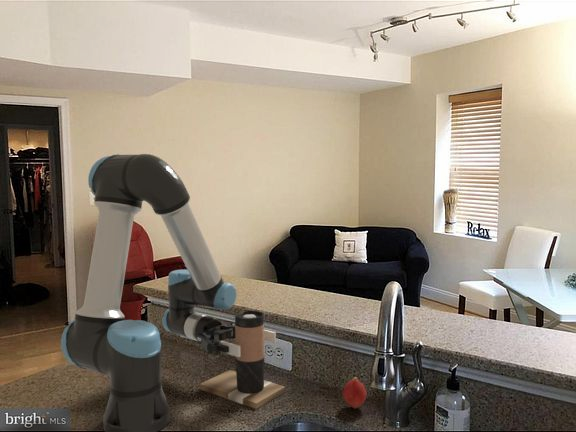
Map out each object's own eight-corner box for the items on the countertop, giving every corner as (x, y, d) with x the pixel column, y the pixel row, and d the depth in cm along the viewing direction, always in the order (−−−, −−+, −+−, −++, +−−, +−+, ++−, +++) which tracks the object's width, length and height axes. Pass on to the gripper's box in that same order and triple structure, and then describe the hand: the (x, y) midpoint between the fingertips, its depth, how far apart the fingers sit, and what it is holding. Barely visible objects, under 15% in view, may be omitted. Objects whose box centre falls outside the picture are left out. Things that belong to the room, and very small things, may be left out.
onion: (338, 408, 126) (338, 377, 126) (351, 400, 131) (351, 370, 130) (357, 415, 122) (357, 383, 122) (370, 407, 127) (371, 376, 126)
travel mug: (264, 394, 131) (262, 318, 129) (234, 394, 131) (233, 318, 130) (265, 382, 139) (264, 310, 137) (237, 382, 139) (236, 310, 137)
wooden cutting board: (285, 392, 136) (285, 386, 136) (256, 409, 126) (256, 403, 126) (230, 374, 148) (229, 369, 148) (199, 389, 138) (199, 383, 138)
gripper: (235, 330, 156) (288, 345, 142) (168, 353, 137) (223, 373, 123) (234, 306, 155) (288, 319, 142) (167, 326, 136) (222, 343, 122)
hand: (258, 344), depth 132 cm, fingers open, 13 cm apart
